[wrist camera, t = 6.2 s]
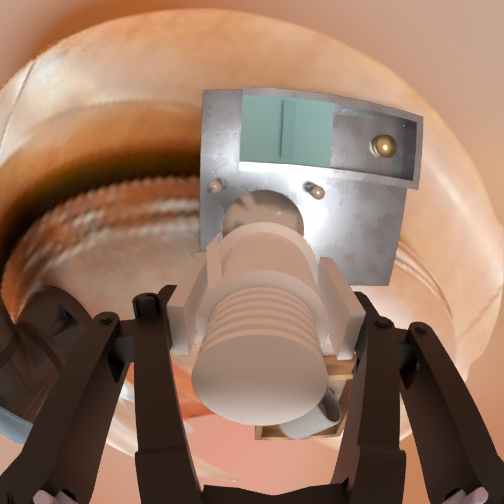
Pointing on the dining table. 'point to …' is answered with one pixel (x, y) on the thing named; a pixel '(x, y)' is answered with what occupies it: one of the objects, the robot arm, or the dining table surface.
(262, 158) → the cover
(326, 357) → the wooden caddy
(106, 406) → the robot arm
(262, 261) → the downlight
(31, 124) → the dining table surface
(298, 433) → the ceramic mug
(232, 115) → the housing board
